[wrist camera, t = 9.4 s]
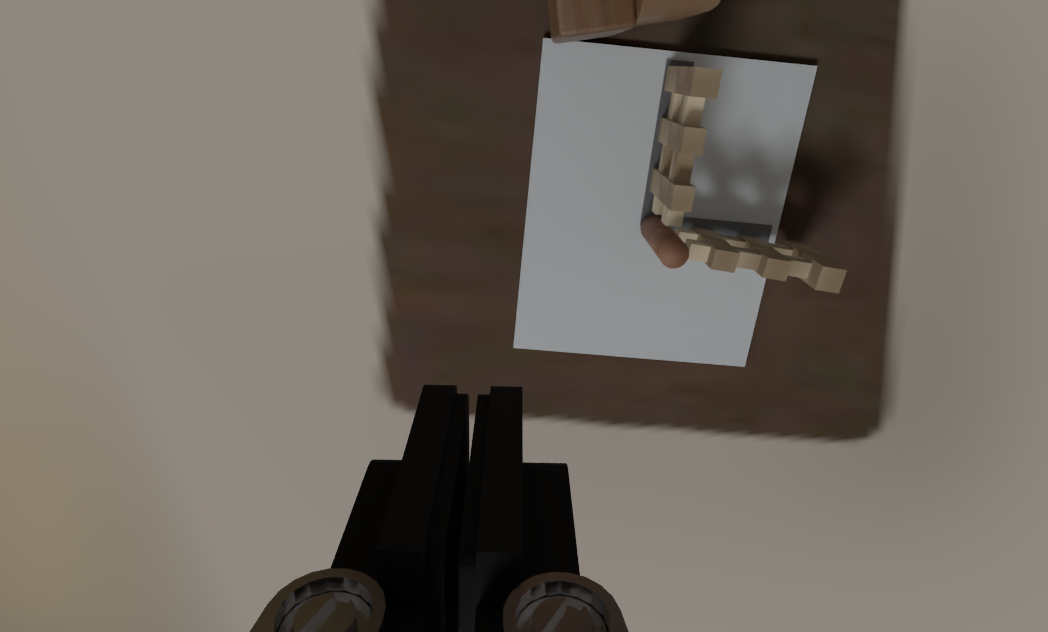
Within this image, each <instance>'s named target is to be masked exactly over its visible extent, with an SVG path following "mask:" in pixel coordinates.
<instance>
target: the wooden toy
mask: <svg viewBox="0 0 1048 632" xmlns="http://www.w3.org/2000/svg"><path fill="white" fill-rule="evenodd" d="M720 1H721V0H547V4H548V13H549V22H550V32H551V39H552V41H553V43H556V44H558V43H566V42H573V41H580V40H587V39H594V38H602V37H609V36H613V35H615V34H618V33H620V32H623V31H626V30H628V29H631V28H633V27H634V26H640V25H648V24H655V23H662V22H668V21H675V20H680V19H684V18H687V17H691V16H694V15H698V14H701V13H704V12H707V11H711V10H712V9H713V8H715V7H716V6H717V5H718V4H719V3H720Z"/></svg>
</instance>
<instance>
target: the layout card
mask: <svg viewBox="0 0 1048 632" xmlns="http://www.w3.org/2000/svg"><path fill="white" fill-rule="evenodd" d="M668 66H685V67H701V68H710V69H720V70H723V71H722V76H721V81H720V86H719V92H718V97H717V99H711V98H706V99H705V104H704V109H703V115H702V120H701V125H700V127H703V128H706V129H707V132H706V137H705V142H704V148H703V153H702V156H695V158H694V163H693V168H692V174H691V179H690V183H691V184H693V185H694V186H695V187H696V190H695V195H694V200H693V206H692V211H691V213H690V212H684V217H683V222H682V227H679V228H685V229H691V230H692V227H696V228H702V229H708V230H714V231H715V232H716V233H717V234H721V235H727V236H733V237H738V235H744V236H750V237H756V238H760V239H762V240H763V241H764V242H769V243H775V240H776V235H777V231H778V227H779V223H780V219H781V215H782V211H783V207H784V202H785V198H786V194H787V190H788V186H789V182H790V178H791V173H792V169H793V165H794V161H795V157H796V153H797V149H798V145H799V140H800V136H801V132H802V128H803V124H804V120H805V116H806V112H807V107H808V103H809V99H810V95H811V91H812V87H813V83H814V78H815V74H816V70H817V66H812V65H803V64H793V63H783V62H773V61H764V60H754V59H744V58H735V57H725V56H715V55H705V54H696V53H686V52H676V51H667V50H657V49H647V48H638V47H628V46H618V45H608V44H599V43H589V42H579V41H573V42H566V43H558V44H556V43H553V41H552V39H550V38H543V45H542V55H541V66H540V76H539V86H538V97H537V107H536V117H535V128H534V138H533V148H532V159H531V169H530V179H529V190H528V200H527V210H526V221H525V231H524V241H523V252H522V262H521V272H520V283H519V293H518V303H517V314H516V324H515V334H514V345H513V348H522V349H534V350H547V351H559V352H571V353H583V354H595V355H608V356H620V357H632V358H644V359H657V360H669V361H681V362H693V363H706V364H718V365H730V366H742V367H745V364H746V359H747V355H748V351H749V347H750V343H751V339H752V335H753V331H754V326H755V322H756V318H757V314H758V310H759V306H760V302H761V297H762V293H763V289H764V285H765V281H766V278H762V277H761V276H760V275H759V274H758V273H756V272H755V271H754V270H750V269H744V268H738V267H736V269H735V273H731V272H725V271H719V270H713V269H710V268H709V267H708V266H707V265H706V264H705V263H704V262H701V261H695V260H689V259H688V260H687V262H686V263H685V264H684V265H683V266H681V267H679V268H675V269H672V268H668V267H666V266H664V265H663V264H662V262H661V261H660V259H659V258H658V257H657V255H656V254H655V252H654V251H653V250H652V248H651V247H650V245H649V244H648V243H647V241H646V240H645V238H644V237H643V236H642V234H641V230H640V228H641V224H642V222H643V221H644V219H646V218H647V217H649V216H653V215H655V213H654V212H653V211H652V206H653V200H654V194H653V193H652V192H651V191H650V184H651V178H652V172H653V168H659V164H660V158H661V152H662V146H663V144H662V143H660V142H659V141H658V135H659V129H660V123H661V117H664V118H667V117H668V111H669V105H670V99H671V93H672V92H668V91H664V87H665V81H666V75H667V69H668ZM655 216H659V217H661V218H662V215H655ZM670 228H671V229H672V230H673V231H675V226H670Z"/></svg>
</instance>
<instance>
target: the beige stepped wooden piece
mask: <svg viewBox="0 0 1048 632" xmlns="http://www.w3.org/2000/svg"><path fill="white" fill-rule="evenodd" d="M640 230H641V234H642V236H643V237H644V238H645V240H646V241H647V243H648V244H649V245H650V247H651V248H652V250H653V251H654V252H655V254H656V255H657V257H658V258H659V259H660V261H661V262H662V264H663V265H664V266H666V267H668V268H672V269H675V268H679V267H681V266H683V265H684V264H685V263H686V262H687V260H688V259H689V260H695V261H701V262H704V263H705V264H706V265H707V266H708V267H709V268H710V269H713V270H719V271H725V272H731V273H735V269H736V267H738V268H744V269H750V270H754V271H755V272H756V273H758V274H759V275H760V276H761V277H762V278H768V279H774V280H781V281H786V279H787V276H793V277H799V278H801V279H802V280H803V281H804V282H806V283H807V284H808V285H810V286H811V287H812V288H813V289H815V290H820V291H826V292H832V293H838V294H839V291H840V288H841V285H842V283H843V280H844V277H845V274H846V272H847V270H846V269H844V268H843V267H841V266H840V265H838V264H836V263H835V262H833V261H832V260H830V259H829V258H827V257H825V256H824V255H822V254H821V253H819V252H818V251H816V250H815V249H813V248H811V247H810V246H808V245H807V244H803V243H797V242H791V241H785V242H784V245H781V244H775V243H769V242H764V241H763V240H762V239H760V238H756V237H750V236H744V235H738V237H733V236H727V235H721V234H717V233H716V232H715V231H714V230H708V229H702V228H696V227H692V230H691V229H685V228H679V227H675V231H673V230H672V229H671V228H670V226H665V225H664V224H663V222H662V221H661V217H659V216H655V215H653V216H649V217H647V218H646V219H644V221H643V222H642V224H641V228H640Z"/></svg>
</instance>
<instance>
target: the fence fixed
mask: <svg viewBox="0 0 1048 632" xmlns="http://www.w3.org/2000/svg"><path fill="white" fill-rule="evenodd" d="M722 71H723V70H720V69H710V68H701V67H685V66H668V69H667V75H666V81H665V87H664V91H668V92H672V93H671V99H670V105H669V111H668V117H667V118H664V117H661V123H660V129H659V135H658V141H659V142H660V143H662V144H663V146H662V152H661V158H660V164H659V168H653V172H652V178H651V184H650V191H651V192H652V193H653V194H654V200H653V206H652V211H653V212H654V213H655V215H662V218H661V221H662V222H663V224H664V225H665V226H675V227H682V222H683V217H684V212H690V213H691V211H692V206H693V200H694V195H695V190H696V187H695V186H694V185H693V184H691V183H690V179H691V174H692V168H693V163H694V158H695V156H702V153H703V148H704V142H705V137H706V132H707V129H706V128H703V127H700V125H701V120H702V115H703V109H704V104H705V99H706V98H711V99H717V97H718V92H719V86H720V81H721V76H722Z"/></svg>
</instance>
